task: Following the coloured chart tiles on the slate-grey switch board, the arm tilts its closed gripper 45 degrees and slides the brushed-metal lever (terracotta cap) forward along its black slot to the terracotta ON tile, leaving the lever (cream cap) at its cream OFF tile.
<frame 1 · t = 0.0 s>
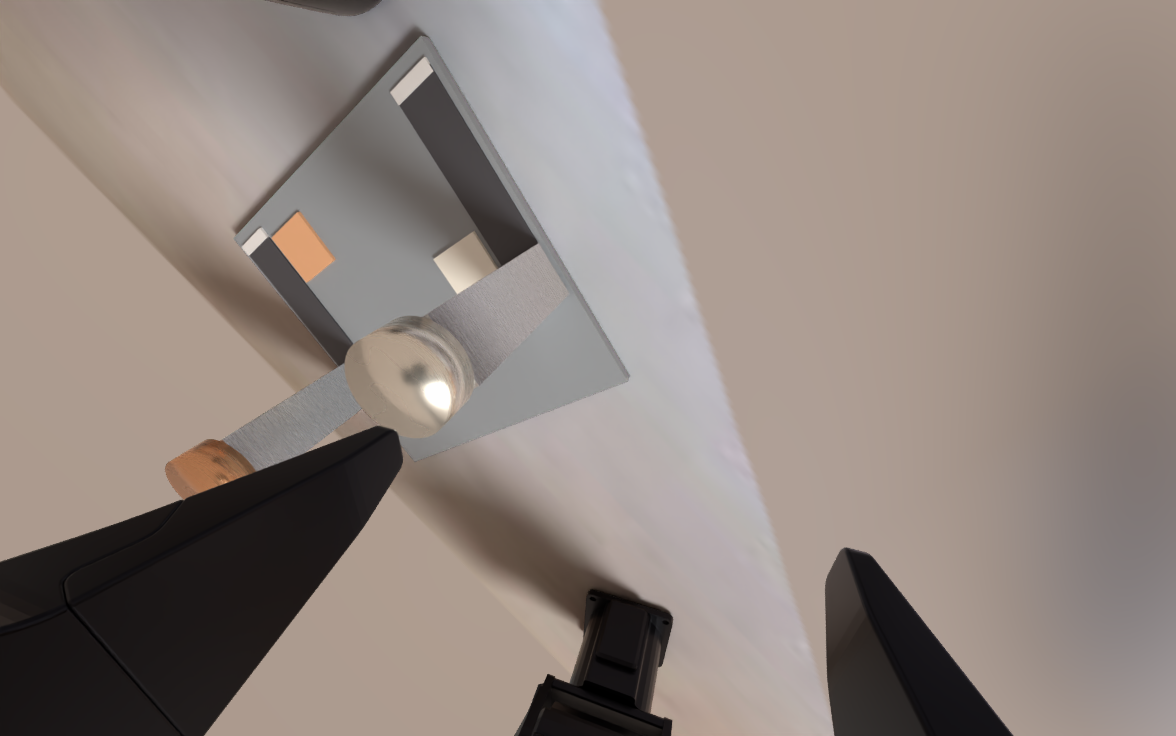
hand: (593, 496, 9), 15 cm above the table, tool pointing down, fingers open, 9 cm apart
lever 1: (480, 322, 18), point 6 cm above the table, slide at 0.0 cm
switch board: (423, 301, 27), on the table
lever 2: (293, 425, 26), point 6 cm above the table, slide at 0.0 cm
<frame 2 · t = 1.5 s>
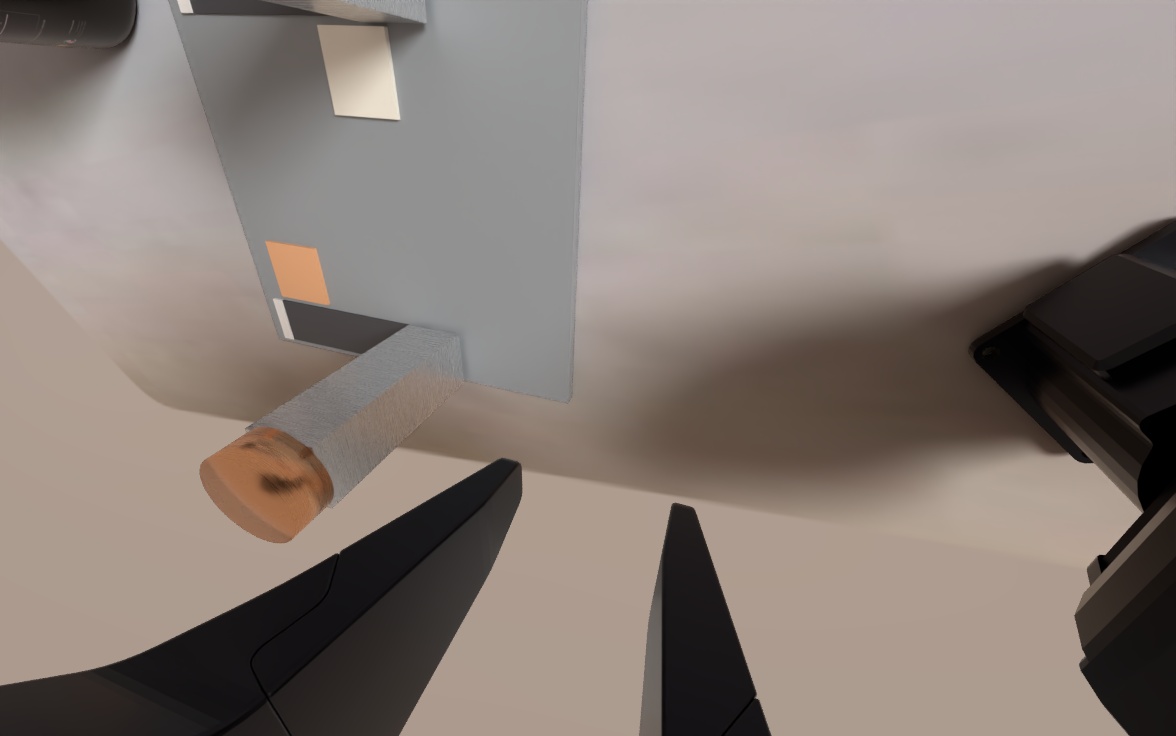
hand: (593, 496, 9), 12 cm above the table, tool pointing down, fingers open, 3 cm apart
switch board: (390, 192, 21), on the table
lever 2: (364, 410, 19), point 6 cm above the table, slide at 0.0 cm
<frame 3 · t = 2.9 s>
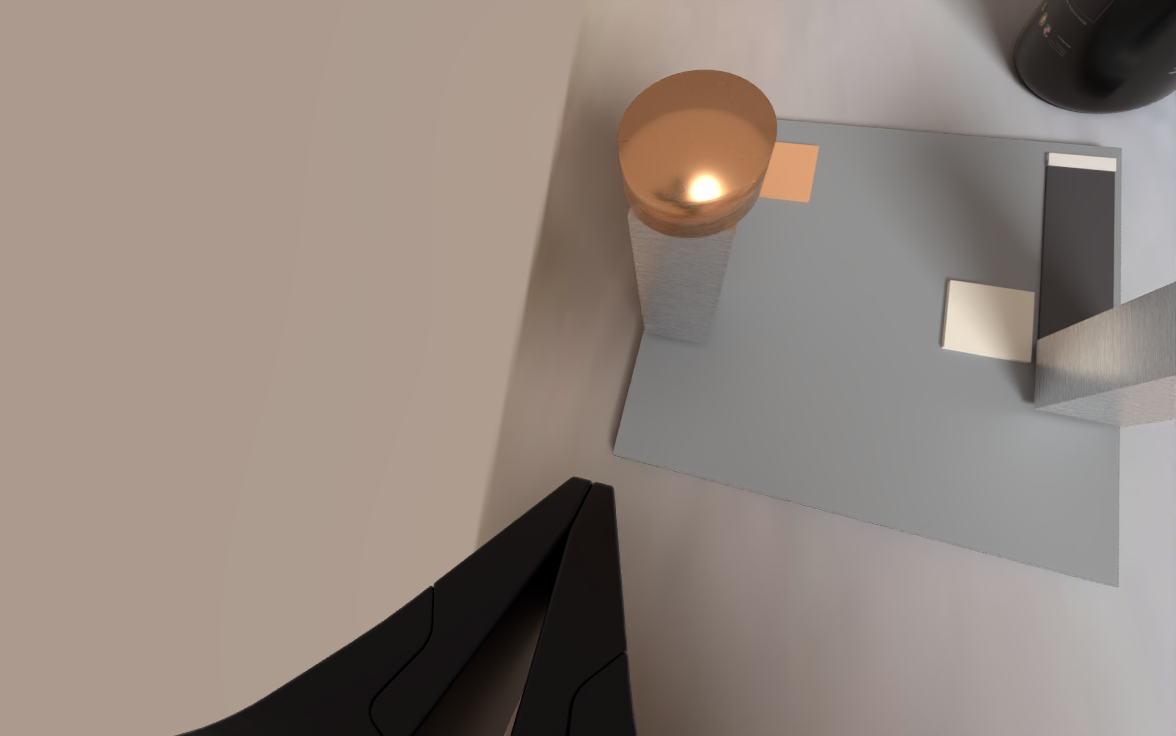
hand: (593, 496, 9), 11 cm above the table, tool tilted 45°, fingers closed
supplement bottle: (1086, 64, 22), on the table
switch board: (860, 307, 20), on the table
lever 2: (686, 249, 16), point 6 cm above the table, slide at 0.0 cm
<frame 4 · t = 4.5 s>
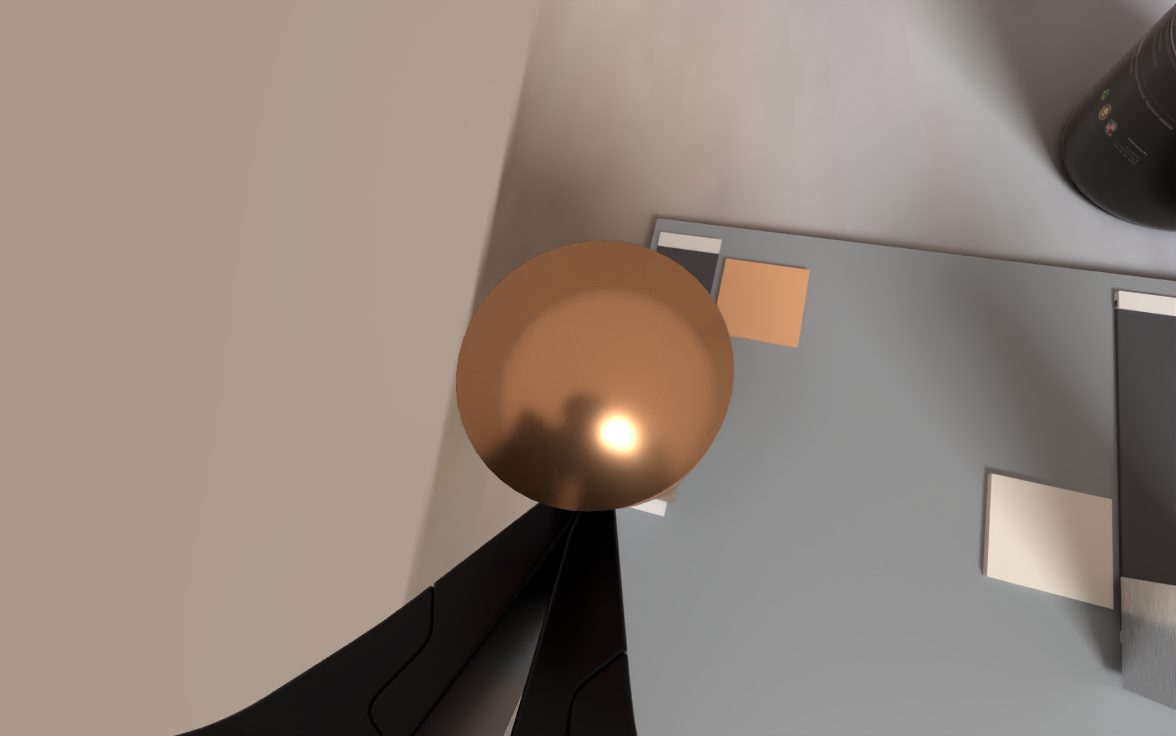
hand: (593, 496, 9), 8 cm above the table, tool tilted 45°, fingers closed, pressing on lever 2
supplement bottle: (1155, 161, 17), on the table
switch board: (868, 497, 15), on the table
lever 2: (626, 428, 11), point 6 cm above the table, slide at 1.6 cm, touching gripper
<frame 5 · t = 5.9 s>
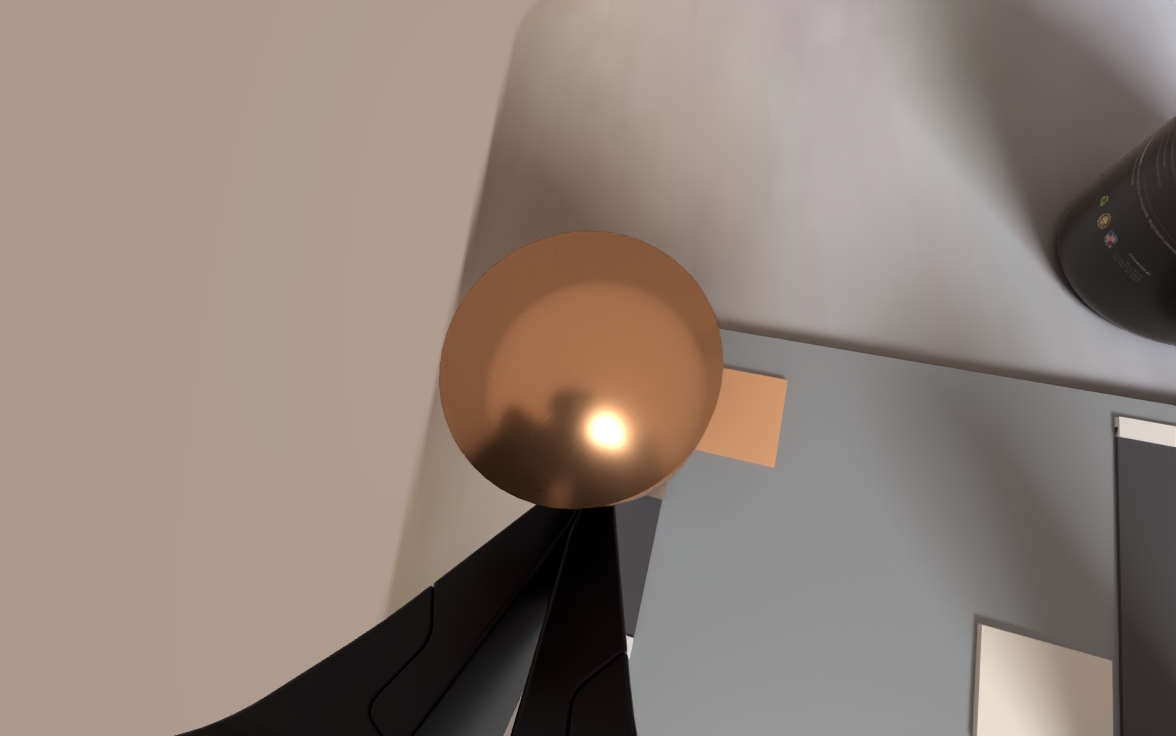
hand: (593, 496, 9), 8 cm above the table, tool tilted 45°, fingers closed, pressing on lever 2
supplement bottle: (1158, 261, 16), on the table
switch board: (849, 638, 14), on the table
lever 2: (619, 424, 11), point 6 cm above the table, slide at 6.0 cm, touching gripper
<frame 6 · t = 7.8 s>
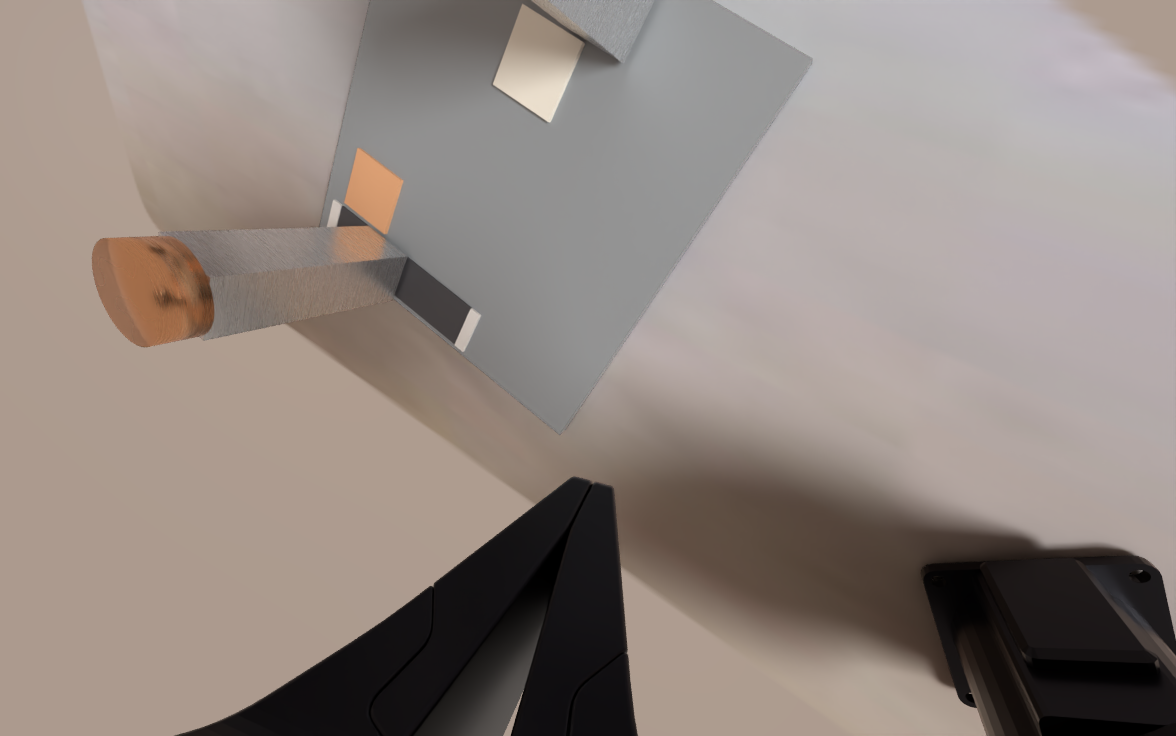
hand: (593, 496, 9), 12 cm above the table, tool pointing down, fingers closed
switch board: (502, 173, 21), on the table
lever 2: (282, 275, 20), point 6 cm above the table, slide at 6.0 cm
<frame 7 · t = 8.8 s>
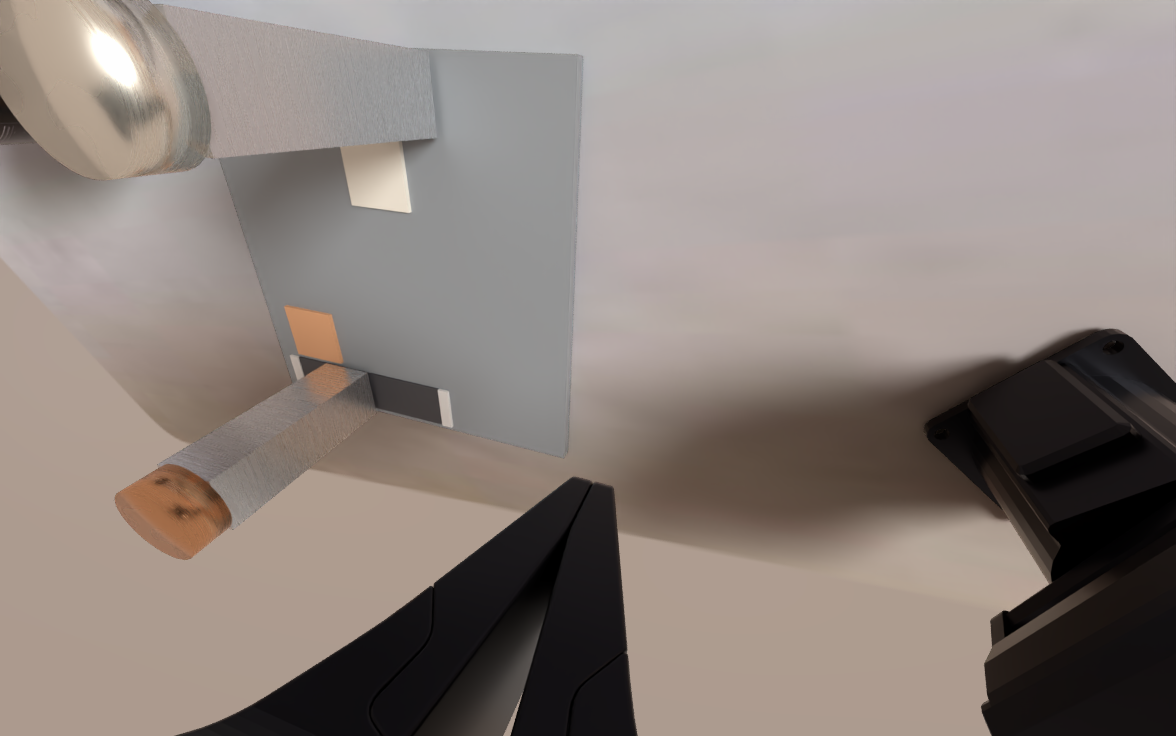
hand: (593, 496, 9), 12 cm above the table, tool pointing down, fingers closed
lever 1: (284, 89, 13), point 6 cm above the table, slide at 0.0 cm
supplement bottle: (120, 57, 22), on the table
switch board: (401, 268, 23), on the table
lever 2: (272, 443, 22), point 6 cm above the table, slide at 6.0 cm
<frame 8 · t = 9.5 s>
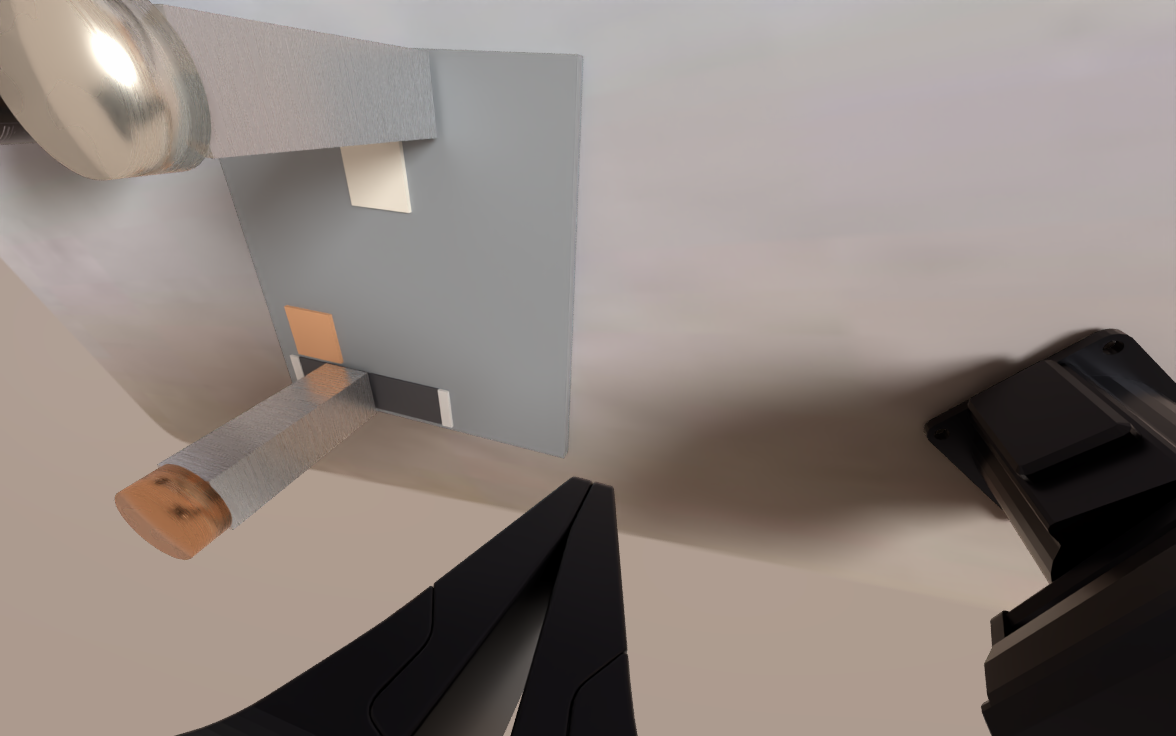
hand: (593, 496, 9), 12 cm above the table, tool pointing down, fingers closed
lever 1: (284, 89, 13), point 6 cm above the table, slide at 0.0 cm
supplement bottle: (120, 58, 22), on the table
switch board: (401, 268, 23), on the table
lever 2: (272, 444, 22), point 6 cm above the table, slide at 6.0 cm
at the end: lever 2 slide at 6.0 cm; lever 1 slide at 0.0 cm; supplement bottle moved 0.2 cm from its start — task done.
